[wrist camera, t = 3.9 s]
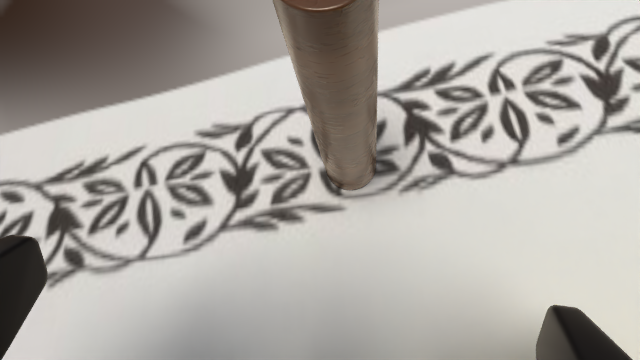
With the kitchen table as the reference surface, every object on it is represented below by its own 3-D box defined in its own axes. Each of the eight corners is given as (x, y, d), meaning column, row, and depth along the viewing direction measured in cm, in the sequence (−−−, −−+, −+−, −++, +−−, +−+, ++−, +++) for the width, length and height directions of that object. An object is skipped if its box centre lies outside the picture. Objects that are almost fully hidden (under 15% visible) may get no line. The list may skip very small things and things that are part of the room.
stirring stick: (376, 189, 22) (381, 7, 9) (325, 191, 22) (262, 15, 9) (375, 141, 22) (376, -92, 10) (325, 143, 22) (265, -82, 10)
